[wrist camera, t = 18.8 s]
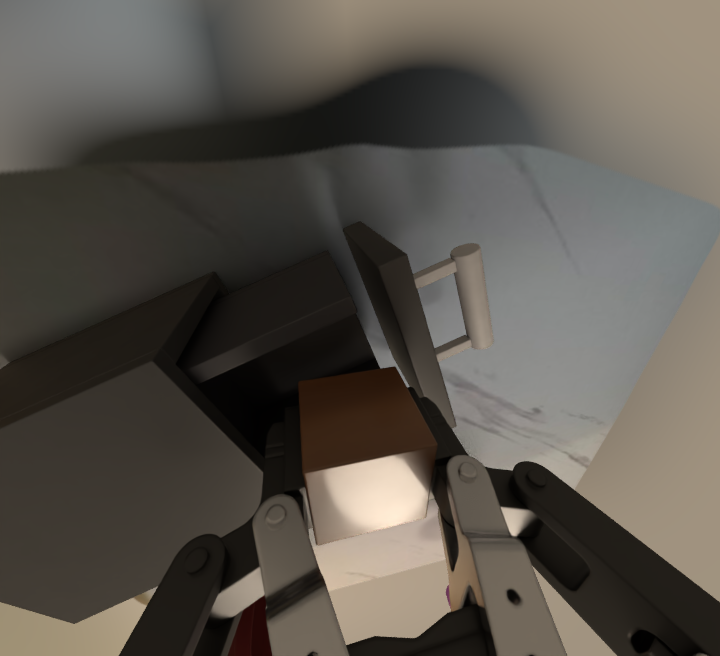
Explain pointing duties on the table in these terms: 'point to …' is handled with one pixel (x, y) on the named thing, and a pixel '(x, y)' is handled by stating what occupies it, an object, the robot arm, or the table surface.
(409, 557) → the table surface
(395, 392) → the block
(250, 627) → the mug
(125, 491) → the cabinet
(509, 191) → the table surface
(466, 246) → the drawer
